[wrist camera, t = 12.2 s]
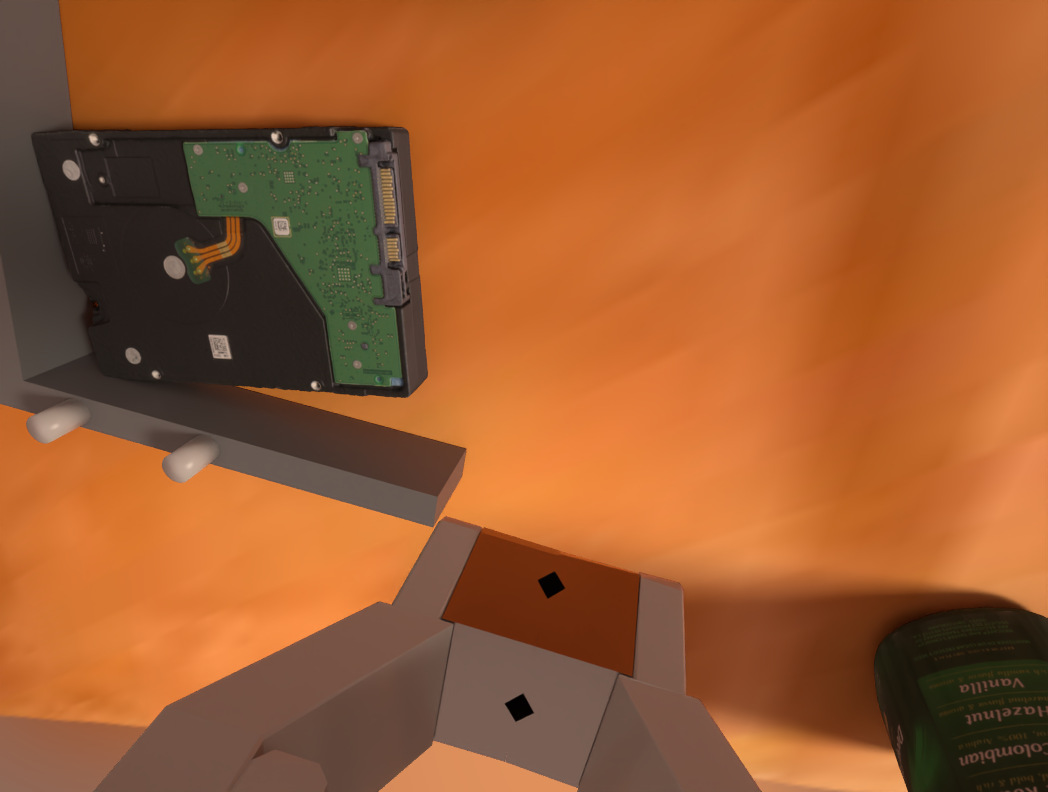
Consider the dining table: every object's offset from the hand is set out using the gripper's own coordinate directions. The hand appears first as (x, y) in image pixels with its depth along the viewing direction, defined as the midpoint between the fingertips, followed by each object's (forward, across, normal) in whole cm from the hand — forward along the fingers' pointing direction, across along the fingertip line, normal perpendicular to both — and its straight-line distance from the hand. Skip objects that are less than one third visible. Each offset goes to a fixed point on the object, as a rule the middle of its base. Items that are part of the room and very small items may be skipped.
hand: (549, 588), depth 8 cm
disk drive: (+18, +15, +3) cm, 24 cm away
